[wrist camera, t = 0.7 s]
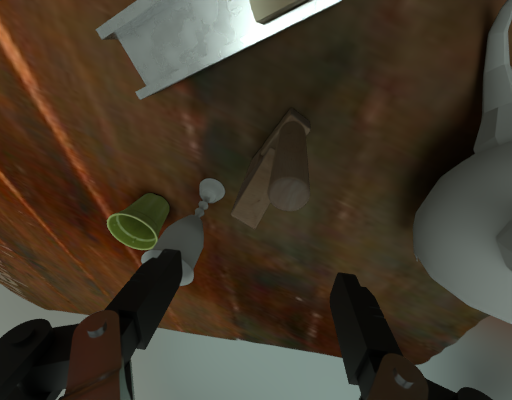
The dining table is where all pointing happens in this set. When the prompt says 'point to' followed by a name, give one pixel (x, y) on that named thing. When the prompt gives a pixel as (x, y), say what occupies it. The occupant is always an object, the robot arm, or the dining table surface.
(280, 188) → the wooden block
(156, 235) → the plant pot
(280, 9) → the block
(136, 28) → the chute
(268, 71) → the dining table surface
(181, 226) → the chalice
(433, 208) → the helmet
